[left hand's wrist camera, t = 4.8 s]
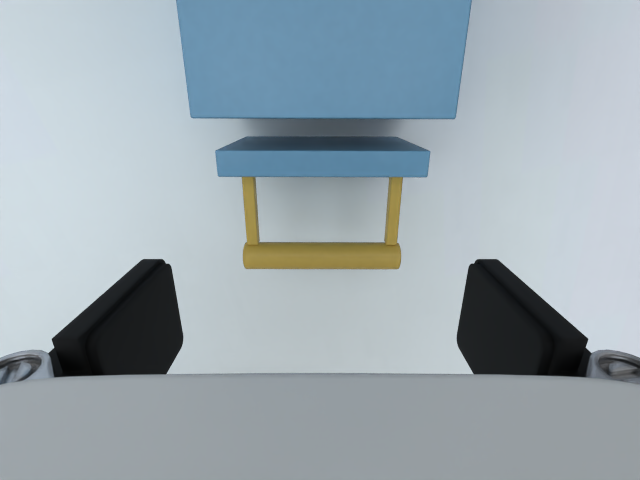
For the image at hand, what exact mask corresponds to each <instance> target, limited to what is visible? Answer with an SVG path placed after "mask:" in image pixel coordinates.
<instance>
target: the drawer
mask: <svg viewBox="0 0 640 480" xmlns="http://www.w3.org/2000/svg"><path fill="white" fill-rule="evenodd" d="M215 153H216V162H217V172H218V176H219V177H242V185H243V197H244V210H245V223H246V235H247V242H246V243H245V245H244V249H243V263H244V267H245V268H246V269H398V268H399V267H400V263H401V249H400V246H399V243H397V236H398V225H399V214H400V202H401V191H402V180H403V177H427V176H428V167H429V158H430V151H428V150H426V149H424V148H421V147H419V146H417V145H414V144H412V143H410V142H407V141H405V140H403V139H400V138H398V137H249V136H247V137H245V138H242V139H240V140H238V141H236V142H233V143H231V144H229V145H227V146H225V147H222V148H220V149H218V150H216V151H215ZM255 177H389V187H388V200H387V213H386V226H385V239H384V241H385V243H375V242H259V241H260V240H259V225H258V209H257V194H256V178H255Z"/></svg>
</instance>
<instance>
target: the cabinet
mask: <svg viewBox="0 0 640 480" xmlns="http://www.w3.org/2000/svg"><path fill="white" fill-rule="evenodd" d="M176 2H177V10H178V18H179V26H180V34H181V42H182V50H183V59H184V67H185V75H186V83H187V91H188V99H189V107H190V115H191V118H263V119H455V117H456V111H457V104H458V97H459V89H460V82H461V75H462V67H463V60H464V53H465V45H466V38H467V31H468V24H469V16H470V9H471V2H472V0H176Z"/></svg>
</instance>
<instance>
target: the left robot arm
mask: <svg viewBox="0 0 640 480" xmlns="http://www.w3.org/2000/svg"><path fill="white" fill-rule="evenodd" d="M52 342H53V345H54V347H55V348H54V349H53V350H51V351H50V352H49V353H47V352H44V351H42V350H27V351H20V352H16V353H13V354H9V355H6V356H4V357H1V358H0V480H640V358H639V357H636V356H634V355H631V354H627V353H624V352H620V351H613V350H598V351H596V352H593V353H591V352H590V351H589V350H587V349H586V348H585V347H586V345H587V342H588V338H587V337H585V336H584V335H583V334H582V333H581V332H580V331H579V330H577V329H576V328H575V327H574V326H573V325H572V324H571V323H569V322H568V321H567V320H566V319H565V318H564V317H563V316H561V315H560V314H559V313H558V312H557V311H556V310H555V309H553V308H552V307H551V306H550V305H549V304H548V303H547V302H546V301H544V300H543V299H542V298H541V297H540V296H539V295H538V294H536V293H535V292H534V291H533V290H532V289H531V288H530V287H528V286H527V285H526V284H525V283H524V282H523V281H522V280H520V279H519V278H518V277H517V276H516V275H515V274H514V273H512V272H511V271H510V270H509V269H508V268H507V267H506V266H504V265H503V264H502V263H501V262H500V261H499V260H497V259H477V260H476V261H475V263H474V264H471V265H470V266H469V269H468V274H467V280H466V285H465V291H464V297H463V303H462V309H461V315H460V320H459V326H458V332H457V344H458V347H459V349H460V351H461V352H462V354H463V356H464V358H465V360H466V361H467V363H468V365H469V367H470V368H471V370H472V372H473V374H377V373H247V374H167V372H168V370H169V368H170V367H171V365H172V363H173V361H174V360H175V358H176V356H177V354H178V352H179V351H180V349H181V347H182V344H183V332H182V326H181V320H180V315H179V309H178V303H177V297H176V291H175V285H174V280H173V274H172V269H171V266H170V265H169V264H166V263H165V261H164V260H163V259H143V260H141V261H140V262H139V263H138V264H137V265H136V266H134V267H133V268H132V269H131V270H130V271H129V272H128V273H126V274H125V275H124V276H123V277H122V278H121V279H120V280H118V281H117V282H116V283H115V284H114V285H113V286H112V287H110V288H109V289H108V290H107V291H106V292H105V293H104V294H102V295H101V296H100V297H99V298H98V299H97V300H96V301H94V302H93V303H92V304H91V305H90V306H89V307H88V308H87V309H85V310H84V311H83V312H82V313H81V314H80V315H79V316H77V317H76V318H75V319H74V320H73V321H72V322H71V323H69V324H68V325H67V326H66V327H65V328H64V329H63V330H61V331H60V332H59V333H58V334H57V335H56V336H55V337H53V338H52Z"/></svg>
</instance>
